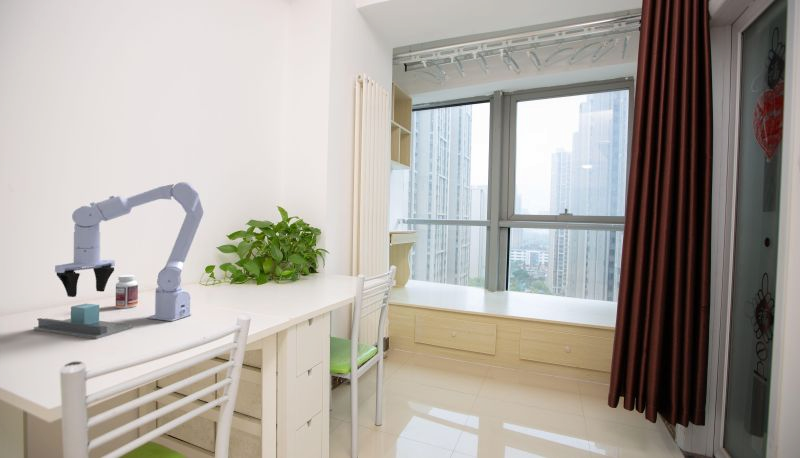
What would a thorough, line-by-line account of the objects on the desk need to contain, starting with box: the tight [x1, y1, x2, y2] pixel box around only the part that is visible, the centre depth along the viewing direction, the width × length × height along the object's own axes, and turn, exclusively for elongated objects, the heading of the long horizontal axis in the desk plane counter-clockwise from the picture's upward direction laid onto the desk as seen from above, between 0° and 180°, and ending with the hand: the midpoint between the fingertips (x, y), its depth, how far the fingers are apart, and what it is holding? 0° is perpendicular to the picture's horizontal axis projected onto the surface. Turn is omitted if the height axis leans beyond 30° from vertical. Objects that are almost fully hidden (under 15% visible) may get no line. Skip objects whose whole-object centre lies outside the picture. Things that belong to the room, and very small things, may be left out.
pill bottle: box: [115, 274, 139, 309], centre depth 122 cm, size 6×6×11 cm
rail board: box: [33, 317, 134, 340], centre depth 98 cm, size 22×10×3 cm, turn 78°
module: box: [70, 303, 100, 324], centre depth 101 cm, size 5×4×5 cm
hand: (86, 293), depth 101 cm, fingers open, 7 cm apart
